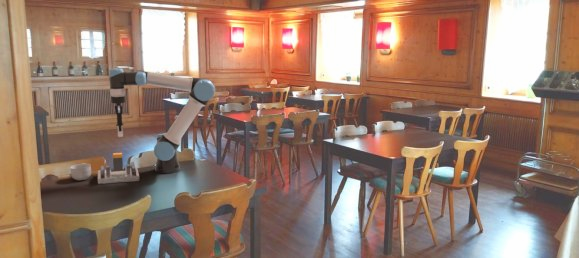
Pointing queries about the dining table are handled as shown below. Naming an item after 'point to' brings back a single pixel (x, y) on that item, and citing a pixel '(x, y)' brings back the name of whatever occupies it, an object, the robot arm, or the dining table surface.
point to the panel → (117, 175)
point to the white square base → (131, 169)
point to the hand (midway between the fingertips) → (120, 136)
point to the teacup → (81, 171)
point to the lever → (117, 162)
